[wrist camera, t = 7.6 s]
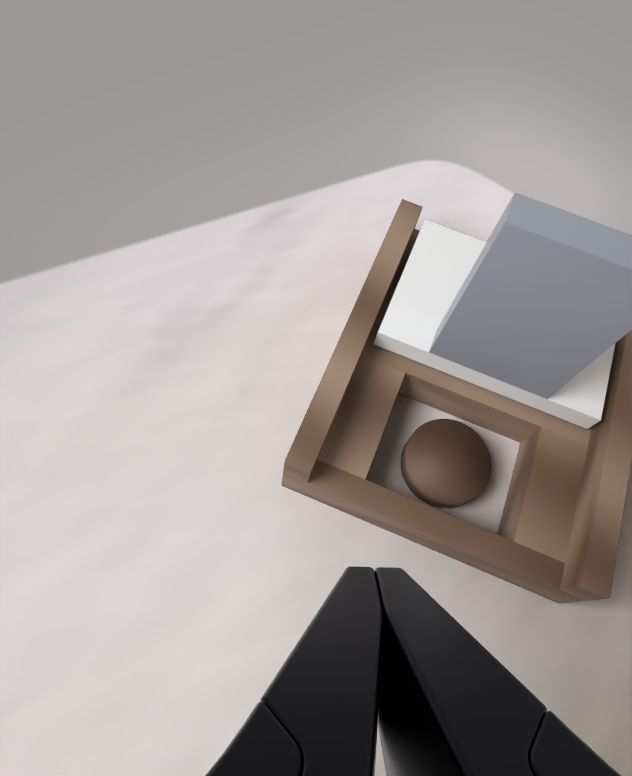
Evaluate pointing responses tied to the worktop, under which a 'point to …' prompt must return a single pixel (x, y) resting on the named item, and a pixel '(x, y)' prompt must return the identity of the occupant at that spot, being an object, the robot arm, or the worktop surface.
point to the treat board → (467, 454)
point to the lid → (518, 307)
